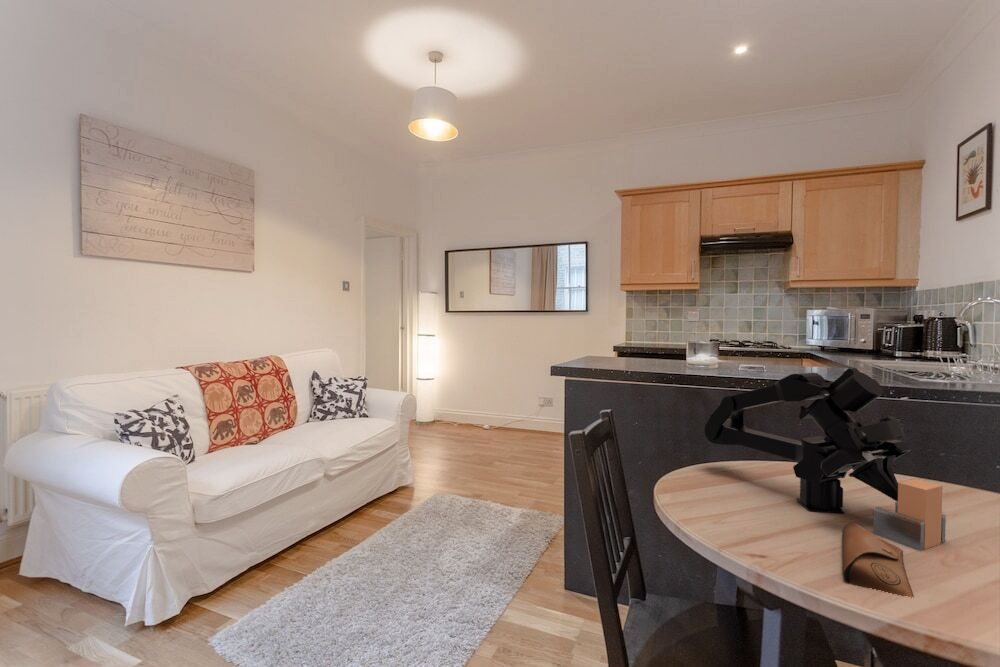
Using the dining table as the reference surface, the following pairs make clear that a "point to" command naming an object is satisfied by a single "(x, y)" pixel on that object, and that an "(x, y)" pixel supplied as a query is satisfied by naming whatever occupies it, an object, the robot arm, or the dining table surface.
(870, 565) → the sunglasses case
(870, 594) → the dining table surface
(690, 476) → the dining table surface
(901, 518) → the silver twin-wall channel
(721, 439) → the robot arm
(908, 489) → the block
